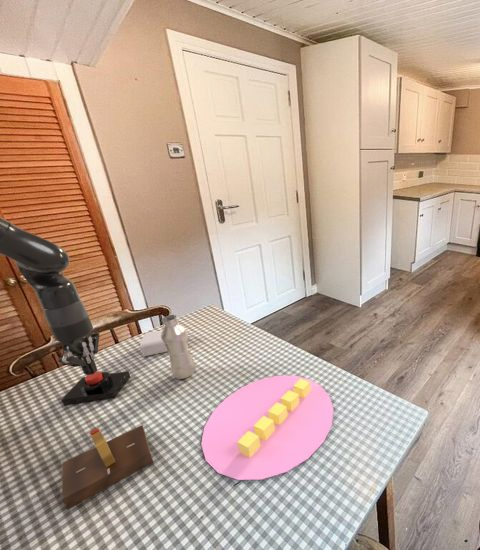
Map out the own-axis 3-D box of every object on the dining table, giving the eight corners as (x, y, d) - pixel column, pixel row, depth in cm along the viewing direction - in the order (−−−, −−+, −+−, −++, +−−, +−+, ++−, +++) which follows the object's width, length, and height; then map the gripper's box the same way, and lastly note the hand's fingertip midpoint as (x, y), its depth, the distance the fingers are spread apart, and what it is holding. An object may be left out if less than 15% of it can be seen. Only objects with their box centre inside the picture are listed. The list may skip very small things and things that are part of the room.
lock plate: (67, 509, 58) (61, 499, 57) (67, 472, 65) (62, 461, 63) (153, 462, 67) (149, 452, 65) (145, 433, 73) (142, 424, 72)
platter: (355, 396, 84) (355, 387, 83) (276, 509, 58) (274, 497, 56) (267, 364, 97) (266, 355, 96) (170, 443, 71) (167, 433, 70)
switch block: (64, 405, 82) (58, 394, 80) (85, 383, 90) (80, 372, 88) (114, 398, 84) (110, 387, 82) (130, 376, 92) (126, 366, 91)
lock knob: (115, 462, 63) (105, 440, 61) (106, 467, 62) (95, 446, 60) (107, 447, 67) (98, 426, 64) (98, 452, 65) (88, 431, 63)
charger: (194, 346, 106) (143, 358, 101) (195, 333, 114) (148, 343, 108) (191, 335, 105) (139, 346, 99) (193, 322, 112) (145, 332, 107)
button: (83, 386, 84) (81, 381, 83) (91, 377, 87) (89, 372, 86) (98, 384, 84) (96, 379, 84) (106, 375, 88) (104, 370, 87)
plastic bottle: (193, 364, 97) (178, 309, 90) (200, 374, 93) (185, 318, 85) (170, 374, 93) (153, 317, 86) (176, 385, 89) (159, 326, 81)
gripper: (67, 330, 72) (92, 387, 79) (100, 305, 84) (119, 356, 91) (30, 334, 71) (59, 391, 78) (69, 308, 83) (91, 360, 90)
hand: (91, 372), depth 84 cm, fingers closed
